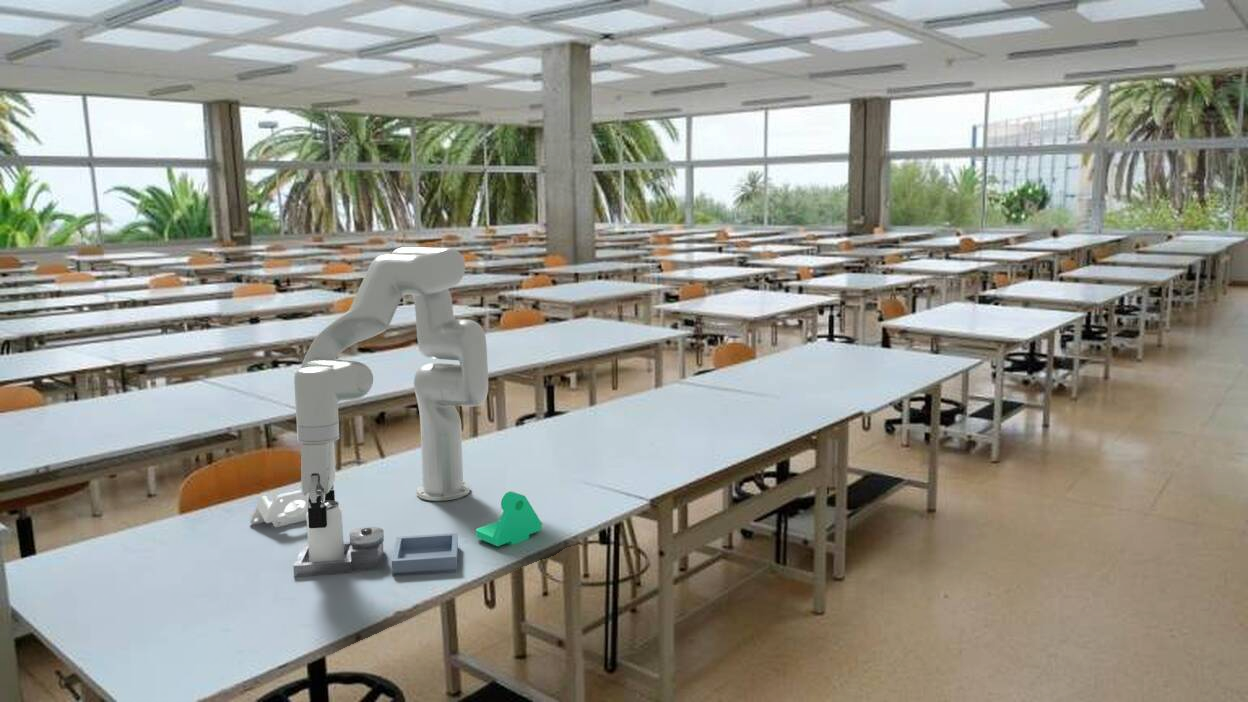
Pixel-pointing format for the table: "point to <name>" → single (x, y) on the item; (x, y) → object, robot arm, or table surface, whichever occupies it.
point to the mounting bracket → (281, 509)
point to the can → (327, 536)
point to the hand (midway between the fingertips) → (322, 518)
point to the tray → (425, 554)
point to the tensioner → (360, 555)
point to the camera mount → (511, 522)
